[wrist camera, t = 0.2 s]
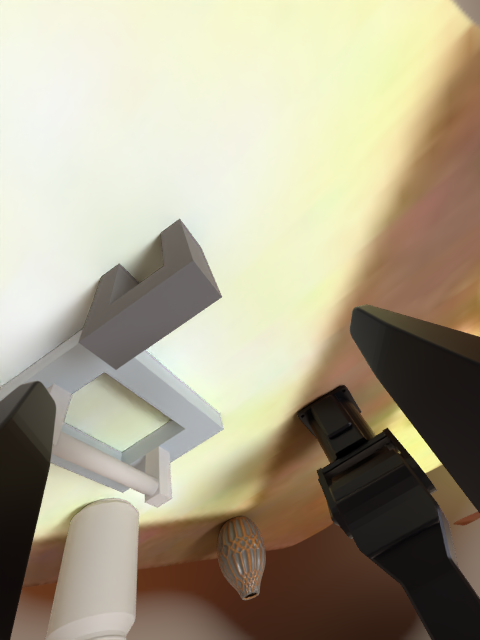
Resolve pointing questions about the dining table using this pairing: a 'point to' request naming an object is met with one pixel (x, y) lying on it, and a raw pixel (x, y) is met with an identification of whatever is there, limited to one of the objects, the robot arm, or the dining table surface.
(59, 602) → the can
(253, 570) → the vase
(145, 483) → the square frame
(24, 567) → the robot arm
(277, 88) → the dining table surface
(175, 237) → the tall grey upright block
